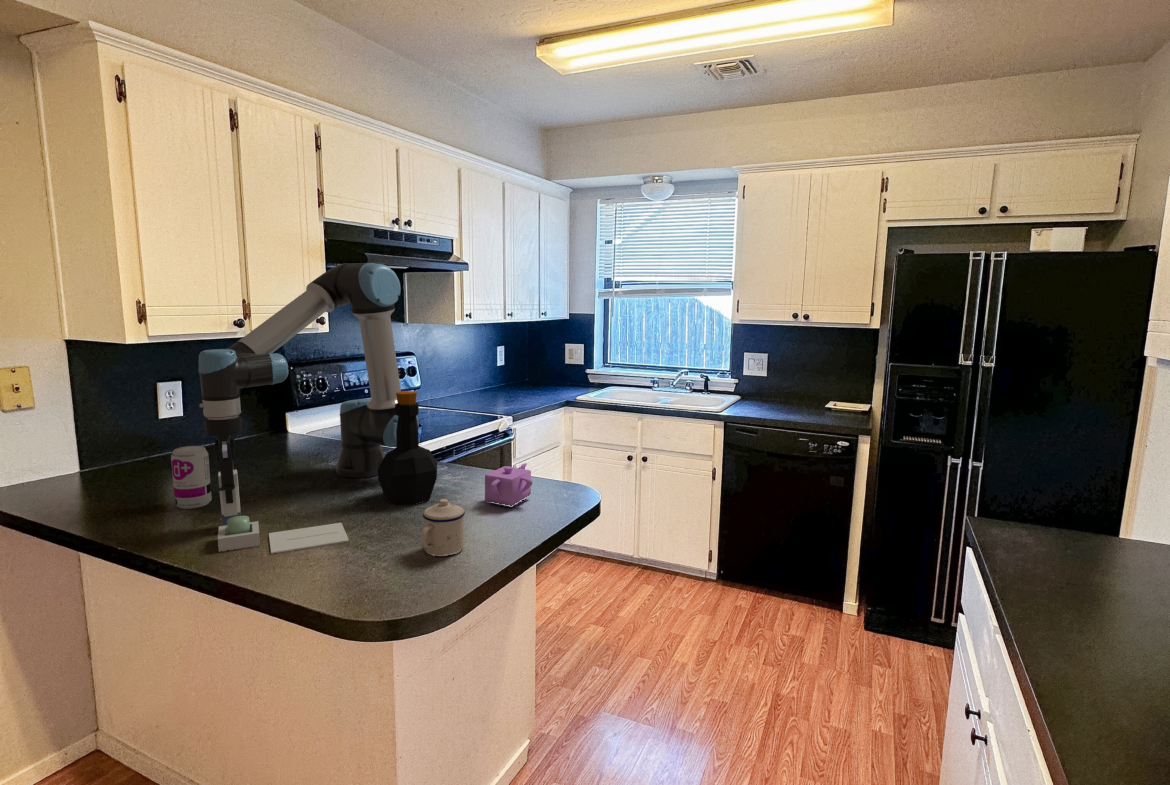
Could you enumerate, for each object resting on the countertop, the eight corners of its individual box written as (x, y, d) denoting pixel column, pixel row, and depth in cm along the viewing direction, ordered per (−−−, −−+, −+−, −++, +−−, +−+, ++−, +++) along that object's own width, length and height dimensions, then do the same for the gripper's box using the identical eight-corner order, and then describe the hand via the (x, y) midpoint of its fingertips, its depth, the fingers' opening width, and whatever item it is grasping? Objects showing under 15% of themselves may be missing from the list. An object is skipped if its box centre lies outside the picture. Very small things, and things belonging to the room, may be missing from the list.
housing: (259, 533, 147) (258, 521, 146) (260, 545, 140) (259, 532, 139) (219, 538, 143) (218, 526, 143) (218, 551, 136) (217, 538, 136)
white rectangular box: (241, 516, 152) (236, 469, 150) (241, 522, 149) (236, 473, 146) (223, 519, 150) (218, 471, 148) (222, 524, 147) (218, 476, 145)
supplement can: (194, 511, 160) (190, 454, 157) (167, 508, 161) (162, 451, 159) (219, 500, 168) (215, 446, 165) (192, 498, 169) (188, 444, 167)
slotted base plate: (341, 524, 154) (341, 522, 154) (348, 541, 143) (348, 539, 143) (268, 534, 146) (268, 533, 146) (271, 554, 136) (271, 552, 136)
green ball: (250, 530, 144) (249, 514, 144) (250, 536, 140) (249, 520, 140) (228, 533, 142) (227, 517, 141) (227, 540, 138) (226, 523, 138)
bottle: (446, 502, 171) (445, 394, 166) (385, 511, 163) (382, 398, 158) (429, 486, 185) (427, 386, 180) (372, 494, 176) (368, 389, 171)
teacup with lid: (441, 538, 146) (440, 491, 145) (472, 546, 143) (472, 497, 141) (405, 557, 136) (404, 506, 134) (438, 566, 132) (438, 514, 130)
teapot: (507, 489, 184) (507, 456, 182) (548, 496, 178) (549, 462, 177) (471, 507, 168) (471, 471, 166) (515, 516, 162) (516, 479, 160)
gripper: (205, 410, 150) (214, 503, 154) (201, 425, 136) (211, 527, 140) (240, 408, 154) (248, 498, 158) (241, 422, 139) (249, 521, 143)
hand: (231, 511), depth 149 cm, fingers closed on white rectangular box, 4 cm apart
